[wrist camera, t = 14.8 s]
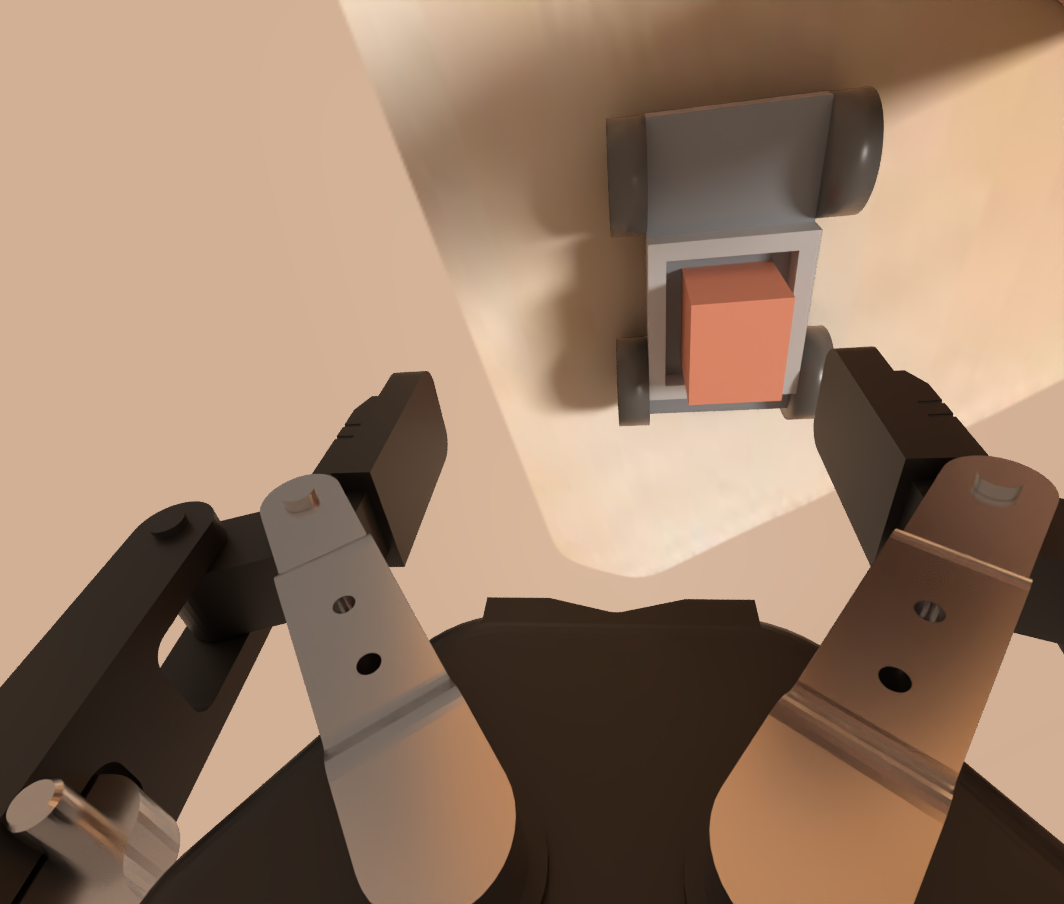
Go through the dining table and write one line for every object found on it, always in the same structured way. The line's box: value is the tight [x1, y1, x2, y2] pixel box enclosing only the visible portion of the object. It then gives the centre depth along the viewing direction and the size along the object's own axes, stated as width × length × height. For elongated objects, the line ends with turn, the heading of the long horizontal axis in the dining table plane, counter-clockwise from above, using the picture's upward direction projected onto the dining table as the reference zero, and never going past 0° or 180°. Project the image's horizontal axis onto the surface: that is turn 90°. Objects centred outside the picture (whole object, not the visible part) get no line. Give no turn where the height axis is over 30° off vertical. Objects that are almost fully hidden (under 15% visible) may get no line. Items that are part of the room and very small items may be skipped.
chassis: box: [606, 86, 884, 426], centre depth 36 cm, size 13×19×6 cm
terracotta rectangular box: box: [680, 260, 795, 405], centre depth 34 cm, size 5×6×6 cm
